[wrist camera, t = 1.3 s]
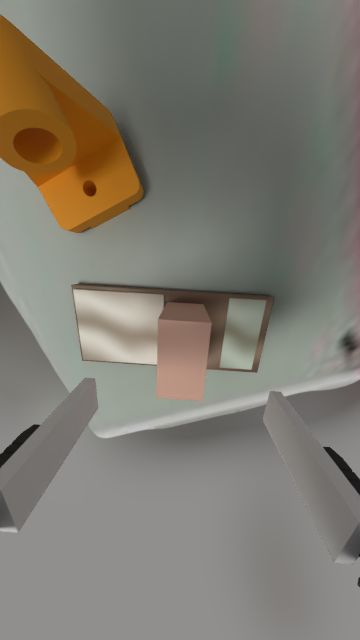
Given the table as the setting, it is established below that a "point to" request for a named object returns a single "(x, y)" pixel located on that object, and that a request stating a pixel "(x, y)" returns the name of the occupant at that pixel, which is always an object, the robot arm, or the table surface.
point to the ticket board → (142, 324)
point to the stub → (182, 351)
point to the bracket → (61, 137)
